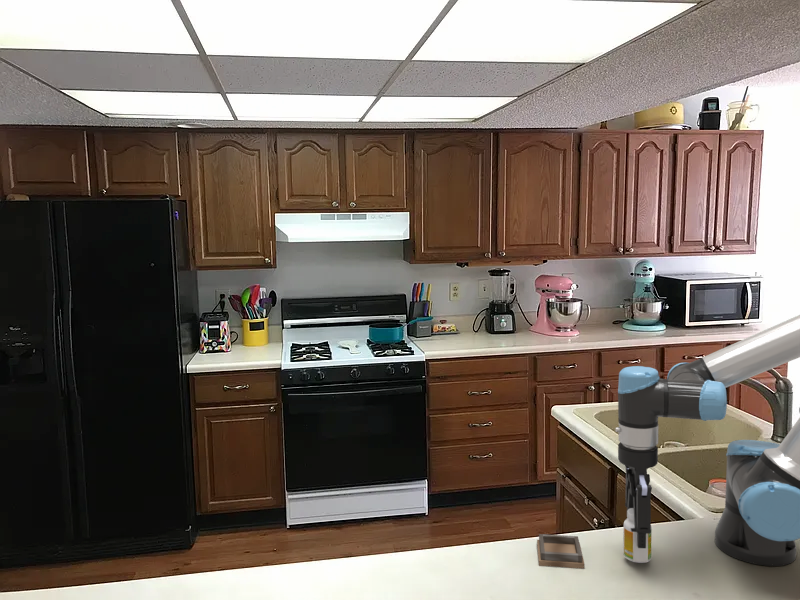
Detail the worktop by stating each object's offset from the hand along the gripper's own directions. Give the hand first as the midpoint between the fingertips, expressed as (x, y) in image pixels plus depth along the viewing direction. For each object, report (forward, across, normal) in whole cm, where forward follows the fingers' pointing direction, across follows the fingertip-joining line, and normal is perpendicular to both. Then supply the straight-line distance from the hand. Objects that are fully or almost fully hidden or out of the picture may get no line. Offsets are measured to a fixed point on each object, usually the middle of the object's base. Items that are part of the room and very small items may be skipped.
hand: (637, 552), depth 130 cm
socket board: (+2, -1, -16) cm, 16 cm away
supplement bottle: (+1, 0, 0) cm, 1 cm away
